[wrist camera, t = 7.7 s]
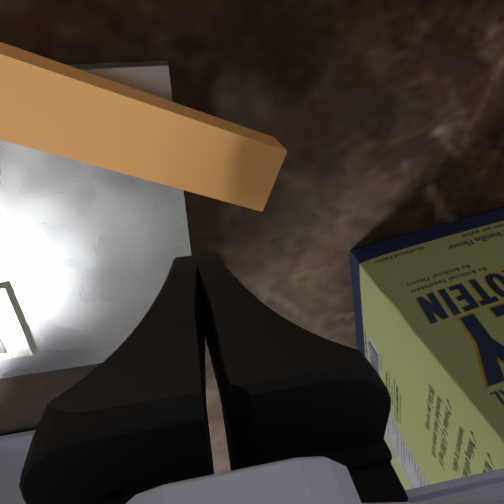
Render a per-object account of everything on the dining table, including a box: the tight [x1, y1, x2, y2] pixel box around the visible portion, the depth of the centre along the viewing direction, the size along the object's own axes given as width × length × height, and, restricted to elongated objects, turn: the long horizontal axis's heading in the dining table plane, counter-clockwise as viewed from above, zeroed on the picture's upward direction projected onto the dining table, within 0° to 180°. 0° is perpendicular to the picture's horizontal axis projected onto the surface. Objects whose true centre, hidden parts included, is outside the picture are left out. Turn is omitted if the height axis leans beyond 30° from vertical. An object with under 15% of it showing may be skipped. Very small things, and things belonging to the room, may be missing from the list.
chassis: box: [0, 60, 191, 379], centre depth 18 cm, size 14×11×3 cm
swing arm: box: [0, 42, 287, 212], centre depth 13 cm, size 16×4×2 cm, turn 69°
